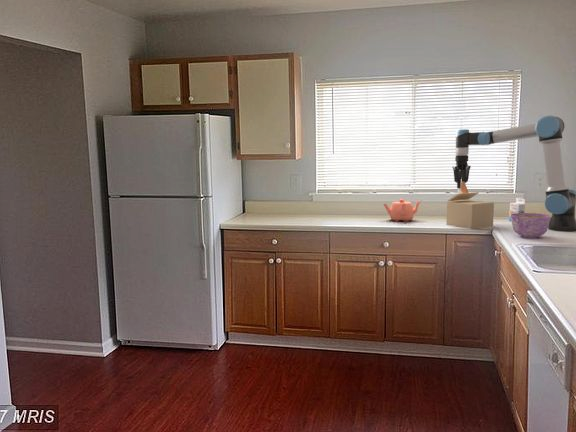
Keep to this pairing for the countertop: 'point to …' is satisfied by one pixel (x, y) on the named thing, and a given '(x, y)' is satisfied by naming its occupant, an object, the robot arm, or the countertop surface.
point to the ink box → (517, 207)
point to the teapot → (402, 210)
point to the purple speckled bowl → (530, 224)
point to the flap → (463, 194)
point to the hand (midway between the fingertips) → (460, 193)
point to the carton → (470, 214)
